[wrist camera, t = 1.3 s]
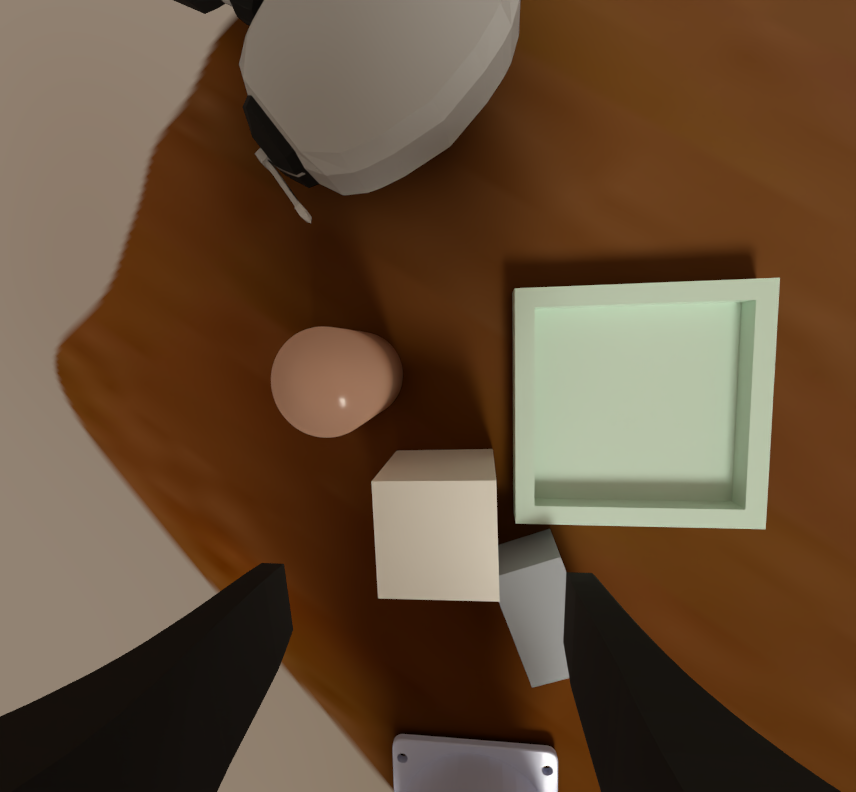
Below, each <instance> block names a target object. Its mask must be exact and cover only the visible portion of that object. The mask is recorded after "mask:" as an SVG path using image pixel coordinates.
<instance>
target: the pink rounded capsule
mask: <svg viewBox="0 0 856 792" xmlns="http://www.w3.org/2000/svg"><path fill="white" fill-rule="evenodd" d="M402 382H403V368H402V364H401V360H400V358H399V356H398V354H397V352H396V350H395V349H394V348H393V347H392V345H391V344H390V343H389V342H387V341H386V340H385V339H383V338H382V337H380V336H378V335H376V334H373V333H370V332H364V331H356V330H349V329H342V328H335V327H324V326H320V327H313V328H308V329H305V330H303V331H301V332H299V333H297V334H295V335H294V336H292V337H291V338H290V339H289V340H288V341H287V342H286V343H285V344H284V345H283V346H282V348H281V349H280V350H279V352H278V354H277V356H276V358H275V360H274V363H273V367H272V372H271V388H272V393H273V397H274V400H275V403H276V405H277V407H278V409H279V411H280V412H281V413H282V415H283V416H284V417H285V419H286V420H287V421H288V422H289V423H290V424H292V425H293V426H294V427H295V428H297V429H298V430H300V431H302V432H304V433H306V434H309V435H312V436H316V437H323V438H330V437H337V436H341V435H344V434H347V433H349V432H351V431H353V430H355V429H356V428H358V427H359V426H361V425H362V424H364V423H365V422H367V421H368V420H370V419H372V418H373V417H375V416H376V415H378V414H379V413H381V412H382V411H384V410H385V409H387V408H388V407H389V406H390V405H391V404H392V403H393V402H394V401H395V399H396V398H397V396H398V394H399V392H400V390H401V386H402Z"/></svg>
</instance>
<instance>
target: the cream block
mask: <svg viewBox="0 0 856 792" xmlns="http://www.w3.org/2000/svg"><path fill="white" fill-rule="evenodd" d="M371 484H372V502H373V519H374V537H375V554H376V572H377V590H378V598H379V599H417V600H455V601H493V602H500V597H499V561H498V524H497V488H496V473H495V464H494V455H493V449H459V450H397V451H396V452H395V453H394V454H393V456H392V457H391V458H390V459H389V461H388V462H387V463H386V464H385V465H384V467H383V468H382V469H381V470H380V471H379V473H378V474H377V475H376V476H375V478H374V479H373V480H372V481H371Z"/></svg>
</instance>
